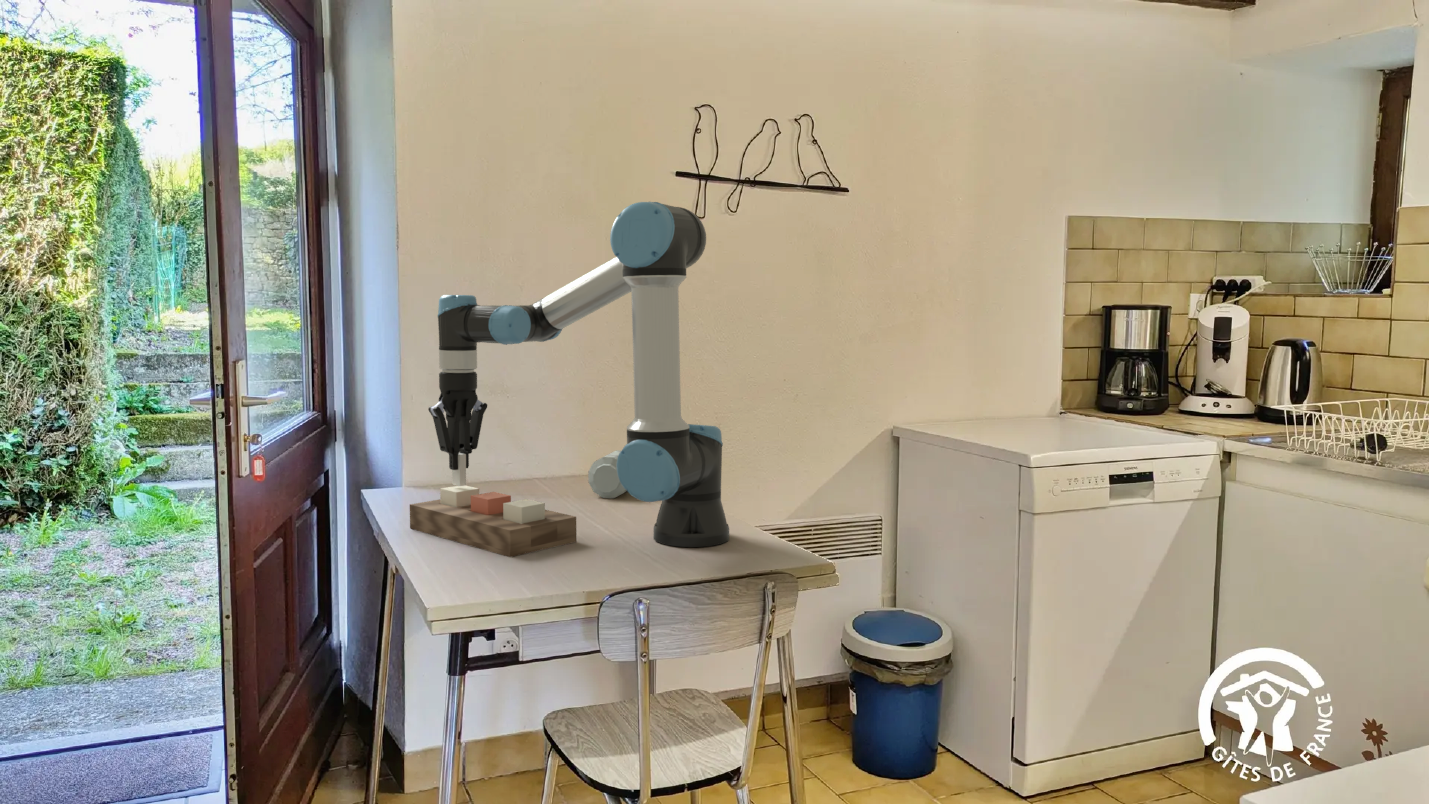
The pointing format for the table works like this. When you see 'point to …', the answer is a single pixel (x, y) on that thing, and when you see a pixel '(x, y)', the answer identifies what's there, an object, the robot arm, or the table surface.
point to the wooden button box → (492, 528)
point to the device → (606, 476)
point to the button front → (523, 511)
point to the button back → (457, 495)
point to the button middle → (489, 503)
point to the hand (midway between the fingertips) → (459, 484)
